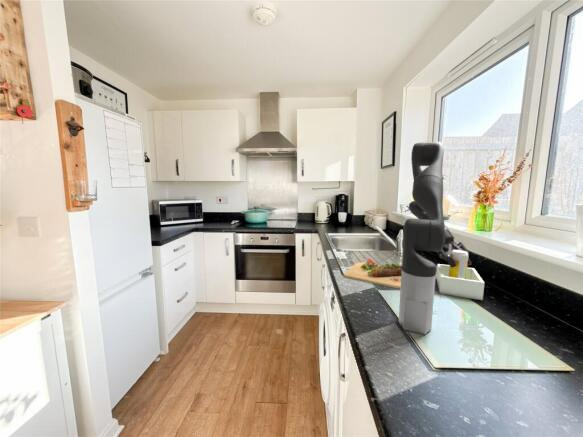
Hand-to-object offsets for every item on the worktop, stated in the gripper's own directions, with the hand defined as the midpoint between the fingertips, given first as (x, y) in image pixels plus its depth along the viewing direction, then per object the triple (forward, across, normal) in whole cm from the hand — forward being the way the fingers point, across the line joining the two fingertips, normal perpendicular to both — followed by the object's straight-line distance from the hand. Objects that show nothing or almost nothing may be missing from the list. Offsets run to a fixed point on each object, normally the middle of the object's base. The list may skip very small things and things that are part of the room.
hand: (462, 265), depth 101 cm
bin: (+6, 0, +8) cm, 10 cm away
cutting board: (-8, -20, +23) cm, 31 cm away
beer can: (+6, 0, +8) cm, 10 cm away
